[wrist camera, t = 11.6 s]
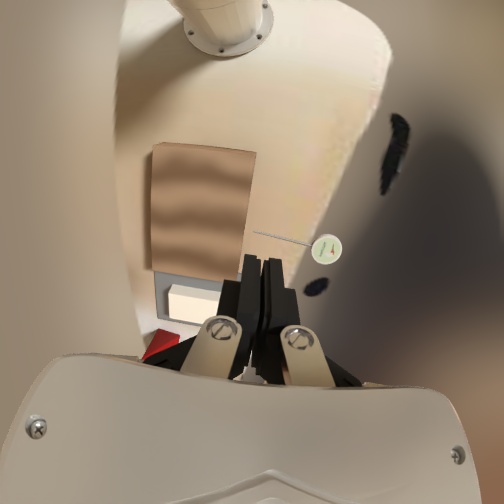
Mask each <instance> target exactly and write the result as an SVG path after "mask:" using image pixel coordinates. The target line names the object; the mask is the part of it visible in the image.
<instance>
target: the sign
mask: <svg viewBox="0 0 504 504" xmlns="http://www.w3.org/2000/svg"><path fill="white" fill-rule="evenodd" d="M253 232H255V233H259V234H263V235H267V236H271V237H275V238H279V239H283V240H287V241H291V242H295V243H299V244H303V245H306V246H310V247H311V254H312V256H313V258H314V260H315V261H317V262H318V263H321V264H329V263H333V262H334V261H336V260H337V259H338V258H339V257H340V255H341V252H342V246H341V243H340V241H339V239H338V238H337V237H336V236H334V235H331V234H323V235H320V236H318V237H317V238H316V239H315V240H314V241H313V243H312V244H308V243H304V242H300V241H296V240H292V239H288V238H283V237H279V236H275V235H271V234H267V233H262V232H258V231H253Z"/></svg>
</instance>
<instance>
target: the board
mask: <svg viewBox="0 0 504 504" xmlns="http://www.w3.org/2000/svg"><path fill="white" fill-rule="evenodd" d="M255 159H256V152H251V151H244V150H237V149H230V148H221V147H213V146H203V145H193V144H181V143H167V142H162V143H159V144H156V145H153V157H152V177H151V257H152V270H154V271H159V272H165V273H171V274H177V275H183V276H189V277H195V278H201V279H207V280H213V281H220V282H223V281H224V279H226V280H233V281H237V276H238V269H239V262H240V255H241V249H242V242H243V236H244V229H245V222H246V216H247V209H248V203H249V197H250V190H251V184H252V177H253V171H254V165H255Z"/></svg>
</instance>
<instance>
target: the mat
mask: <svg viewBox="0 0 504 504" xmlns="http://www.w3.org/2000/svg"><path fill="white" fill-rule="evenodd" d="M241 275H242V274H241V273H238V276H237V281H241ZM172 284H175V285H181V286H187V287H192V288H198V289H205V290H211V291H217V292H221V290H222V286H223V282H220V281H213V280H207V279H201V278H195V277H189V276H183V275H177V274H171V273H165V272H159V271H155V289H156V303H157V314H158V319H163V320H168V321H173V322H178V323H183V324H189V325H194V326H200V327H201V326H202V324H199V323H193V322H188V321H182V320H177V319H172V318H170V317H169V295H168V293H169V291H170V289H171V287H172Z"/></svg>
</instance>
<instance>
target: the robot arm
mask: <svg viewBox="0 0 504 504" xmlns="http://www.w3.org/2000/svg"><path fill="white" fill-rule="evenodd" d="M167 1H168V2H169V3H170V4H171V5H172V6H173V7H174V8H175V9H176V10H177V11H178V12H179V13H180V14H181V16H182V17H183V18H184V31H185V34H186V36H187V38H188V39H189V41H190V42H191V43H192V44H193V45H194V46H195V47H196V48H198V49H199V50H200V51H203V52H205V53H207V54H210V55H214V56H222V57H228V56H236V55H241V54H244V53H247V52H249V51H251V50H253V49H255V48H257V47H258V46H259V45H260V44H262V43H263V42H264V41H265V39H266V38H267V37H268V36H269V34H270V32H271V30H272V27H273V21H274V16H273V11H272V8H271V6H270V4H269V2H268V1H267V0H167ZM264 7H266V9H264ZM192 33H194V34H193V35H191V34H192ZM258 37H260V38H261V39H260V40H259V39H257V38H258ZM221 50H224V52H223V53H221V52H220V51H221ZM251 350H252V365H251V367H255V368H256V375H260V376H261V377H262V378H263V379H264V380H265V382H264V384H263V383H253V382H244V381H236V380H233V378H235V377H237V376H238V375H240V374H242V373H243V370H244V366H246V367H247V366H248V363H249V359H250V355H251ZM0 504H482V503H481V495H480V489H479V483H478V478H477V473H476V469H475V465H474V461H473V458H472V454H471V450H470V447H469V443H468V441H467V438H466V435H465V432H464V429H463V427H462V424H461V422H460V419H459V417H458V415H457V413H456V411H455V409H454V407H453V405H452V404H451V402H450V401H449V400H448V398H447V397H445V396H444V395H443V394H441V393H439V392H437V391H434V390H430V389H427V388H422V387H415V386H386V385H379V384H374V383H368V382H365V384H364V385H363V384H361V382H360V381H359V380H358V379H357V378H355V377H354V376H352V375H351V374H350V373H348V372H347V371H346V370H344V369H343V368H342V367H340V366H339V365H337V364H336V363H335V362H333V361H332V360H331V359H329V358H328V357H326V356H325V355H324V354H323V351H322V349H321V346H320V344H319V341H318V338H317V336H316V335H315V333H313V331H311V330H310V329H308V328H306V327H303V326H301V325H300V318H299V312H298V305H297V298H296V292H295V289H289V288H285V287H284V278H283V269H282V260H281V259H275V258H269V260H264V263H263V268H262V273H261V259H257V256H255V255H249V254H245V256H244V262H243V269H242V275H241V281H233V280H226V279H224V281H223V286H222V290H221V295H220V299H219V304H218V309H217V313H216V316H213V317H210V318H208V319H207V320H205V322H204V323H203V324H202V326H201V328H200V330H199V332H198V335H196V336H194V337H192V338H189V339H187V340H185V341H183V342H180V343H178V344H176V345H173V346H171V347H169V348H167V349H164V350H162V351H160V352H157V353H155V354H152V355H150V356H149V357H147V358H146V359H145V360H144V359H138V357H137V356H123V355H110V354H100V353H80V354H67V355H63V356H60V357H57V358H55V359H54V360H52V361H51V362H50V363H49V364H47V366H46V367H45V368H44V369H43V370H42V371H41V373H40V374H39V375H38V377H37V378H36V380H35V381H34V383H33V384H32V386H31V387H30V389H29V391H28V393H27V395H26V396H25V398H24V400H23V402H22V403H21V405H20V408H19V410H18V412H17V414H16V416H15V418H14V421H13V423H12V425H11V427H10V430H9V432H8V435H7V437H6V440H5V443H4V445H3V448H2V451H1V454H0Z"/></svg>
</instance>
